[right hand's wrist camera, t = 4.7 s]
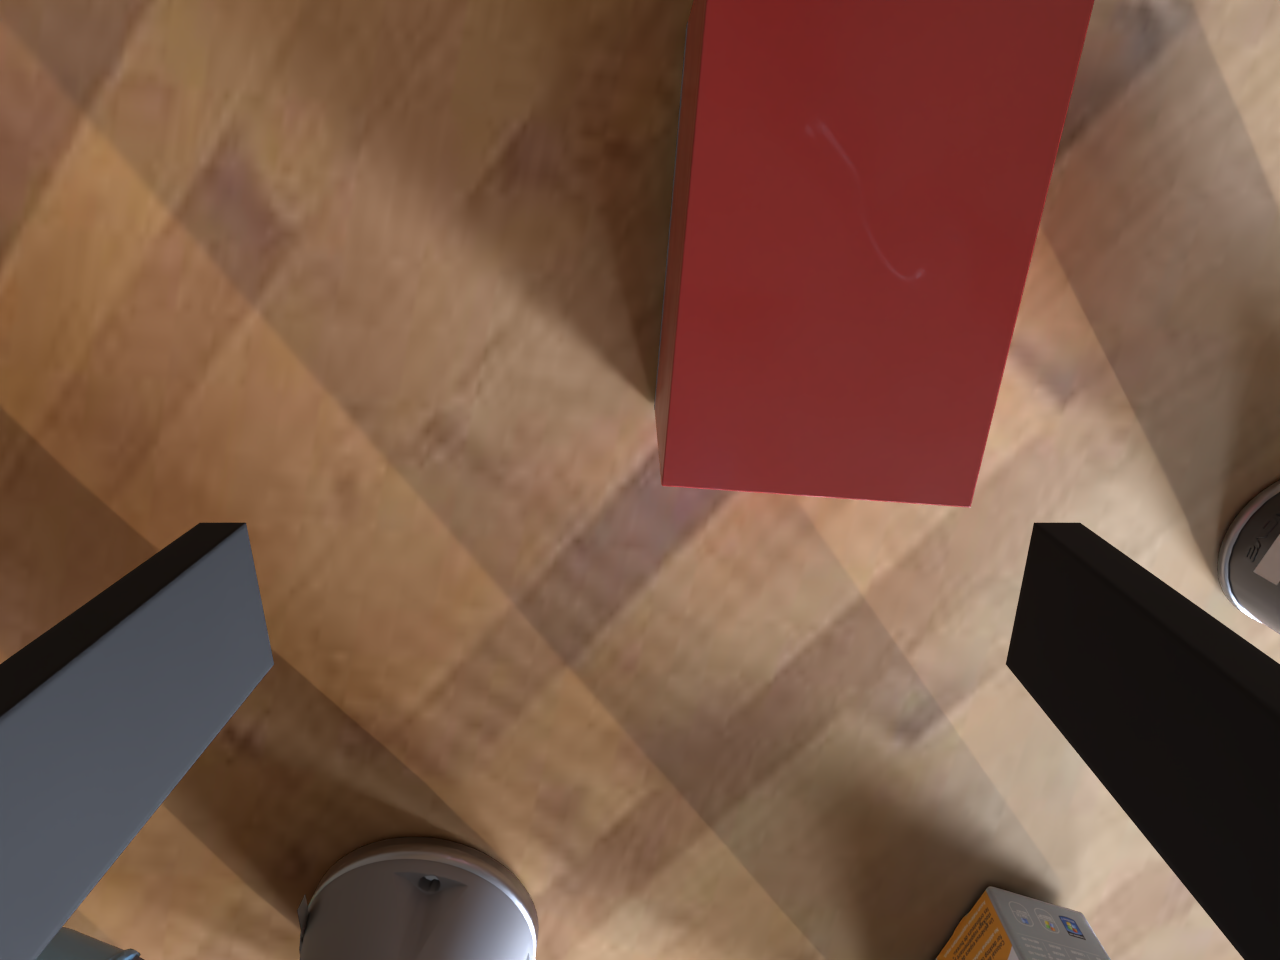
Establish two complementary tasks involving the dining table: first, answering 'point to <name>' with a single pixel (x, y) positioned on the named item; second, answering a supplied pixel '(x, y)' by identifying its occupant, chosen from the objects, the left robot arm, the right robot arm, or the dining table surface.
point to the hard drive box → (1021, 931)
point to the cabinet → (853, 238)
